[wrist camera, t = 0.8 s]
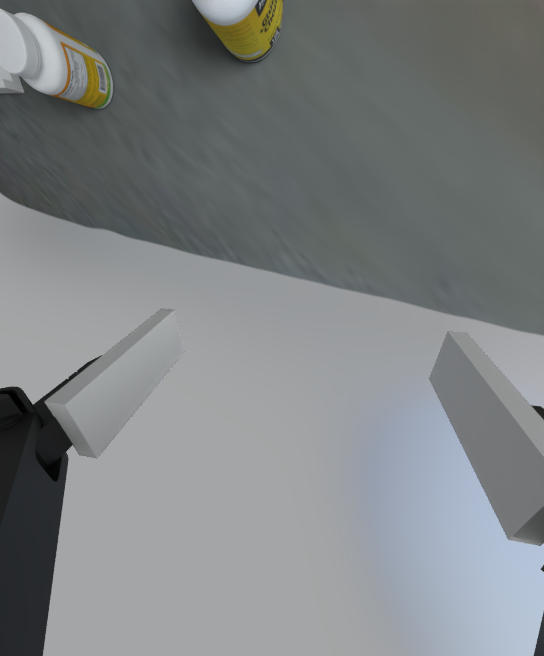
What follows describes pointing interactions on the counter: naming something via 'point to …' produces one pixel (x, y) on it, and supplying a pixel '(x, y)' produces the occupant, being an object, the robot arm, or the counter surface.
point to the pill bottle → (244, 25)
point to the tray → (9, 83)
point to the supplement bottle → (53, 61)
